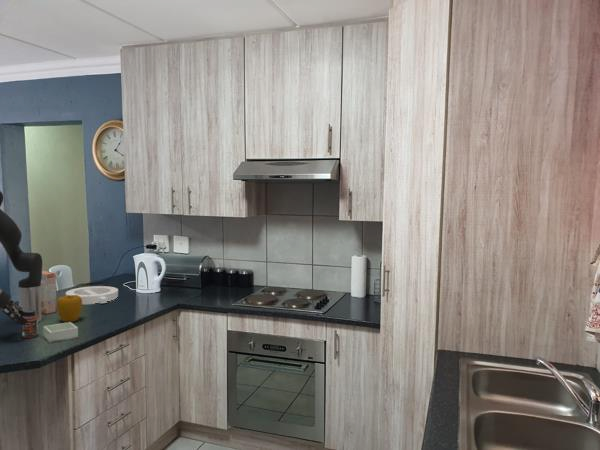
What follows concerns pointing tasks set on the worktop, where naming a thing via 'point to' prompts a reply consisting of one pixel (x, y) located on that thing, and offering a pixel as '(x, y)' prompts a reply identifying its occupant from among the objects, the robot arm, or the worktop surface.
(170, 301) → the worktop surface
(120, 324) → the worktop surface
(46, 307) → the cracker box
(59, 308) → the apple
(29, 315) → the supplement bottle
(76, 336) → the box
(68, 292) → the white circle with bar
